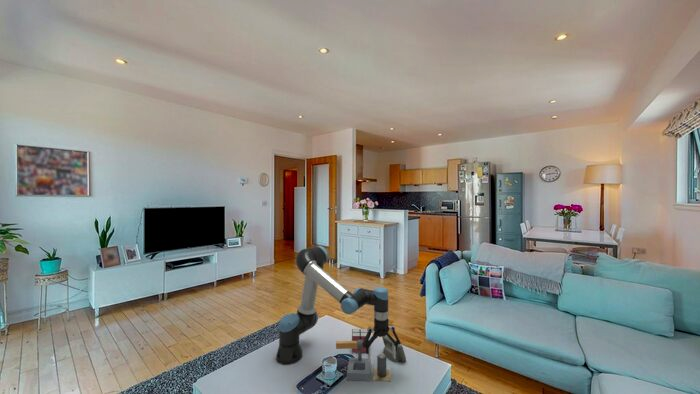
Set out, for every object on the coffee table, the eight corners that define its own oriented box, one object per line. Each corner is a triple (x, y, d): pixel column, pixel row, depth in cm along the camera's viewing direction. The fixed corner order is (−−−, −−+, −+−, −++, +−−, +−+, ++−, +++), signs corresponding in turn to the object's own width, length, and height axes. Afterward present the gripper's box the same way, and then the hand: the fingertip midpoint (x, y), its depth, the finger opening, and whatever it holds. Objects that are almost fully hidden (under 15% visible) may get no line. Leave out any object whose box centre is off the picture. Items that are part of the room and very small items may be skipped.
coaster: (373, 380, 139) (373, 379, 139) (373, 369, 148) (373, 368, 148) (390, 381, 138) (390, 380, 138) (390, 370, 147) (390, 369, 147)
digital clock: (407, 362, 154) (407, 343, 155) (394, 366, 151) (393, 347, 151) (392, 348, 169) (392, 331, 169) (379, 351, 166) (379, 334, 166)
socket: (346, 379, 140) (346, 359, 140) (349, 363, 154) (349, 345, 154) (370, 381, 139) (370, 360, 139) (370, 365, 152) (370, 346, 152)
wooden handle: (336, 346, 153) (336, 340, 153) (362, 345, 153) (362, 339, 153) (335, 349, 149) (335, 343, 150) (363, 348, 150) (363, 342, 150)
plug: (377, 377, 141) (377, 357, 141) (377, 371, 146) (377, 352, 146) (386, 377, 141) (386, 358, 141) (386, 371, 145) (386, 353, 145)
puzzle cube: (368, 353, 164) (368, 336, 164) (352, 353, 165) (351, 336, 165) (367, 344, 174) (367, 328, 174) (352, 344, 175) (352, 328, 175)
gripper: (359, 323, 138) (359, 365, 138) (406, 319, 142) (406, 360, 142) (356, 316, 145) (357, 356, 145) (401, 313, 149) (401, 352, 149)
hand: (381, 358), depth 143 cm, fingers open, 13 cm apart
